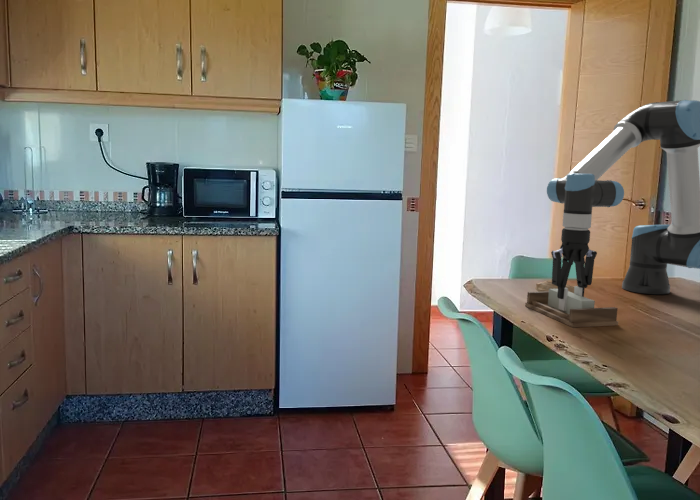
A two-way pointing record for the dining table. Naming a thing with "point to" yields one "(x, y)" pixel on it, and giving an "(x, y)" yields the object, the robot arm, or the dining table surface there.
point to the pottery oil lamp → (550, 287)
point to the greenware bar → (569, 301)
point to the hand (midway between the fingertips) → (569, 309)
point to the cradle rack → (572, 312)
